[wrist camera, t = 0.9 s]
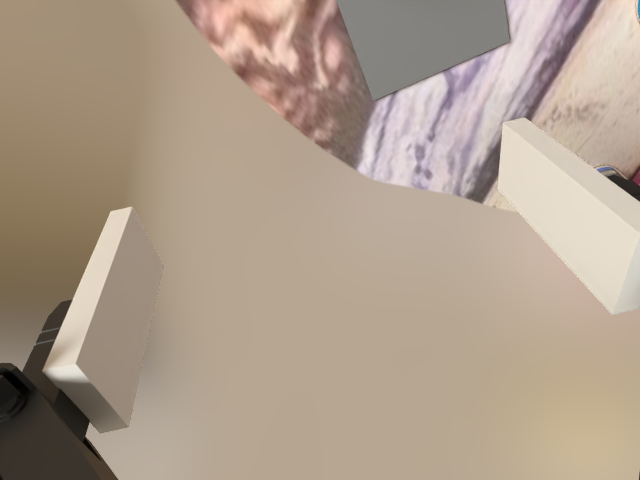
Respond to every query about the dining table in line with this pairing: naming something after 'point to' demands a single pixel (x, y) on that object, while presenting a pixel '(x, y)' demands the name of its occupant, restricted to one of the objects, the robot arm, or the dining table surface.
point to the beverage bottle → (638, 9)
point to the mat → (419, 37)
